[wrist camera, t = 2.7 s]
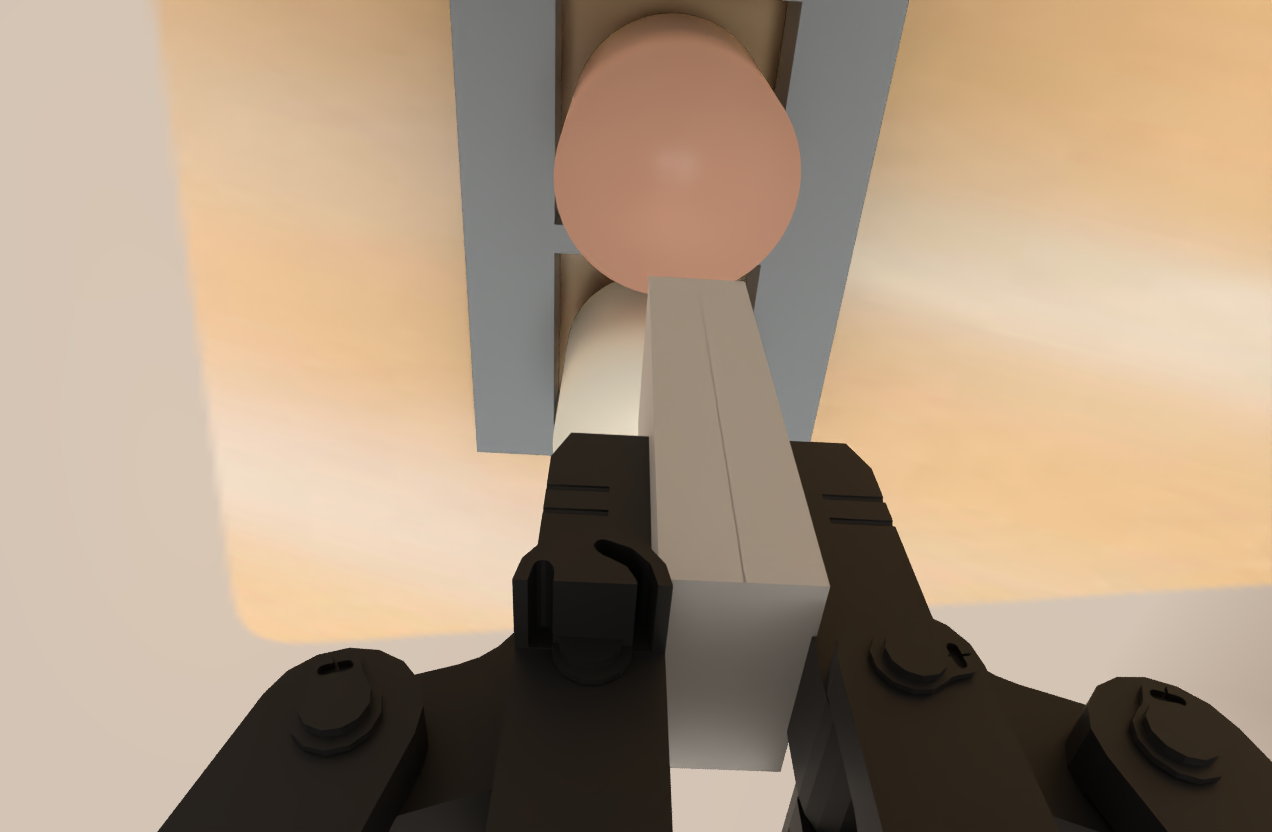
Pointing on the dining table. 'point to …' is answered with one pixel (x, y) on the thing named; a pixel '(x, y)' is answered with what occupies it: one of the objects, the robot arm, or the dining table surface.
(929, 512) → the dining table surface
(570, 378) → the cream cylinder
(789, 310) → the board
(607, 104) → the pink cylinder
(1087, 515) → the dining table surface
